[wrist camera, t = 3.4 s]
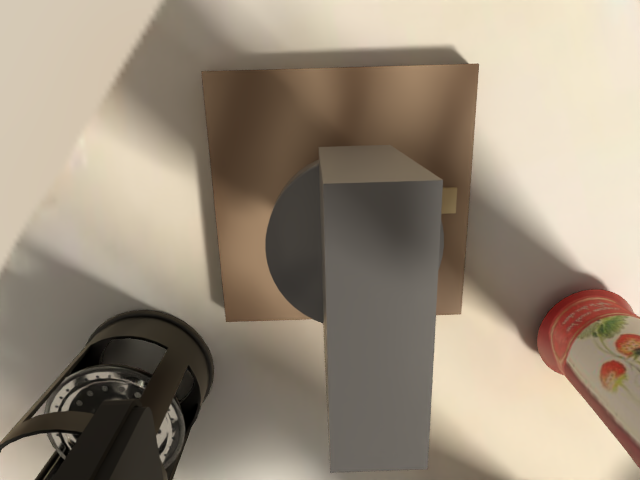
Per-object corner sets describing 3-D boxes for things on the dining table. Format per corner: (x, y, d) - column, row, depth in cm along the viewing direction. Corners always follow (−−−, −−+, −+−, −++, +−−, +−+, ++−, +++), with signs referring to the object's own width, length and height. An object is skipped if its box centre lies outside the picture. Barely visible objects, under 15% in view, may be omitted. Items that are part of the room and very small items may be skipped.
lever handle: (437, 138, 21) (542, 176, 12) (428, 322, 24) (506, 476, 14) (263, 143, 21) (222, 186, 12) (274, 327, 24) (250, 485, 14)
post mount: (470, 65, 28) (529, 54, 21) (454, 304, 33) (497, 368, 25) (207, 72, 28) (168, 65, 20) (229, 311, 33) (205, 378, 25)
